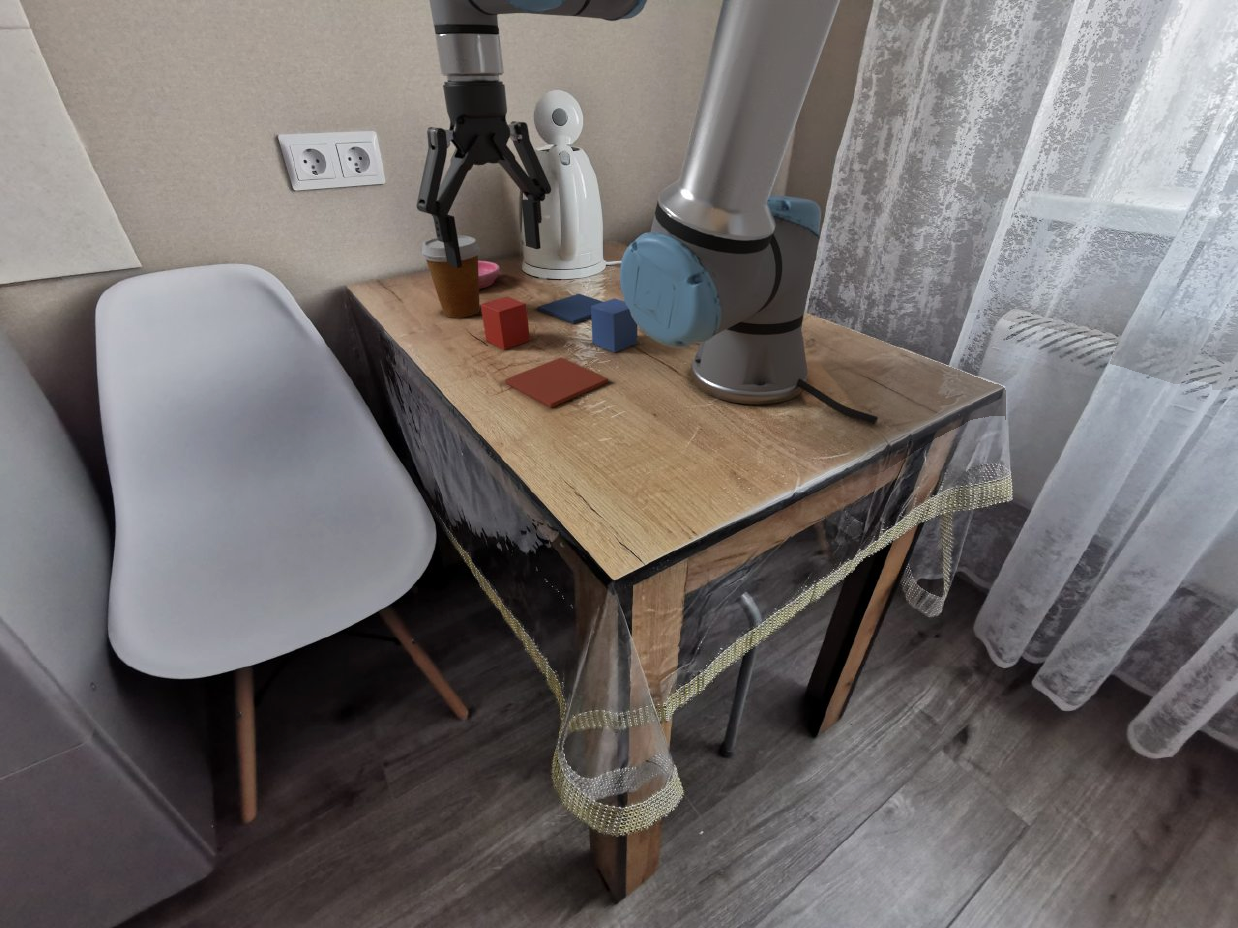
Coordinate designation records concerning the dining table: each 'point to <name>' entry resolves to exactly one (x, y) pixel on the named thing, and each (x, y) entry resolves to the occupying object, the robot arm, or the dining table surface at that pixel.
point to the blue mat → (571, 308)
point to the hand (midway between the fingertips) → (495, 256)
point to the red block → (505, 322)
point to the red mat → (556, 382)
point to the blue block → (613, 325)
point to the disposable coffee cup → (455, 277)
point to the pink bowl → (487, 273)
